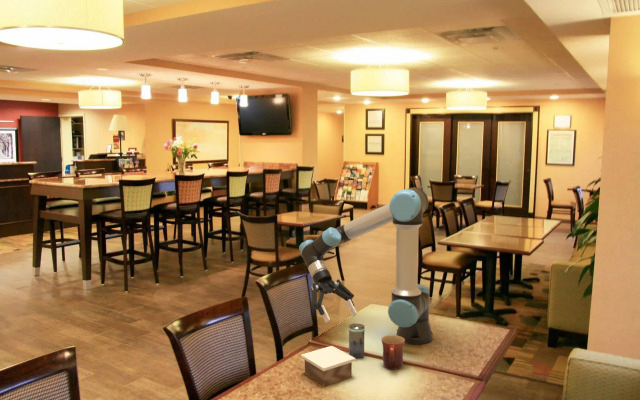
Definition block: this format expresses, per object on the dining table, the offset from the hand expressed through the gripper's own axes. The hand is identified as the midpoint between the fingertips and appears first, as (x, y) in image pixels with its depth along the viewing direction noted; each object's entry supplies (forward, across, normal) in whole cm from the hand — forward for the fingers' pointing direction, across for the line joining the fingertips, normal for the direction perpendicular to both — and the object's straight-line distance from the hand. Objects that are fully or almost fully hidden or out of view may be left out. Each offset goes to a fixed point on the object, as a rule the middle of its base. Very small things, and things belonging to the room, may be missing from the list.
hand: (341, 318), depth 206 cm
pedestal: (+20, +18, +2) cm, 28 cm away
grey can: (+15, 0, -3) cm, 16 cm away
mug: (+27, -4, +8) cm, 28 cm away
